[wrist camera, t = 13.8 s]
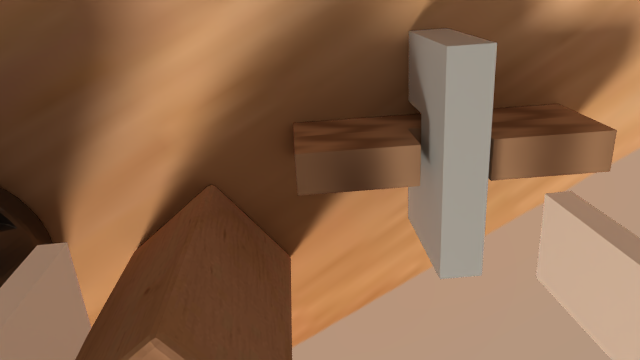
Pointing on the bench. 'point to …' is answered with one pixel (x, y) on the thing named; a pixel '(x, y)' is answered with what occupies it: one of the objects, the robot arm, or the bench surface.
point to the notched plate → (452, 146)
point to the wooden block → (199, 292)
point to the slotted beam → (405, 149)
